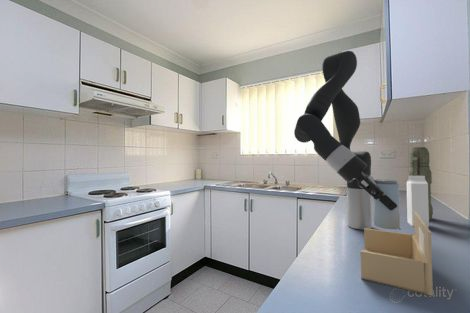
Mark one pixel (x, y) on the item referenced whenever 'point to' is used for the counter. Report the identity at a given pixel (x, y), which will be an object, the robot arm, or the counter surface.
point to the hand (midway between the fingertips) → (393, 205)
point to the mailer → (399, 258)
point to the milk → (417, 199)
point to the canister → (381, 212)
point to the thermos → (421, 169)
